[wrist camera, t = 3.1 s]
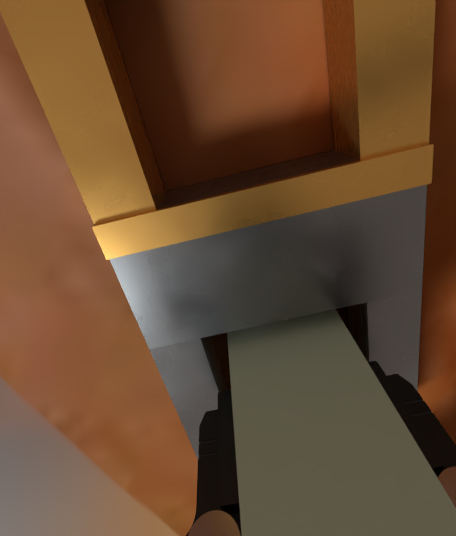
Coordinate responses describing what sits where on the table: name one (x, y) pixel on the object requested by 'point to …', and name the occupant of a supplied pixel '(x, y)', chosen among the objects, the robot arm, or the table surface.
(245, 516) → the sage block
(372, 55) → the grey yellow flat board
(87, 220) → the table surface
